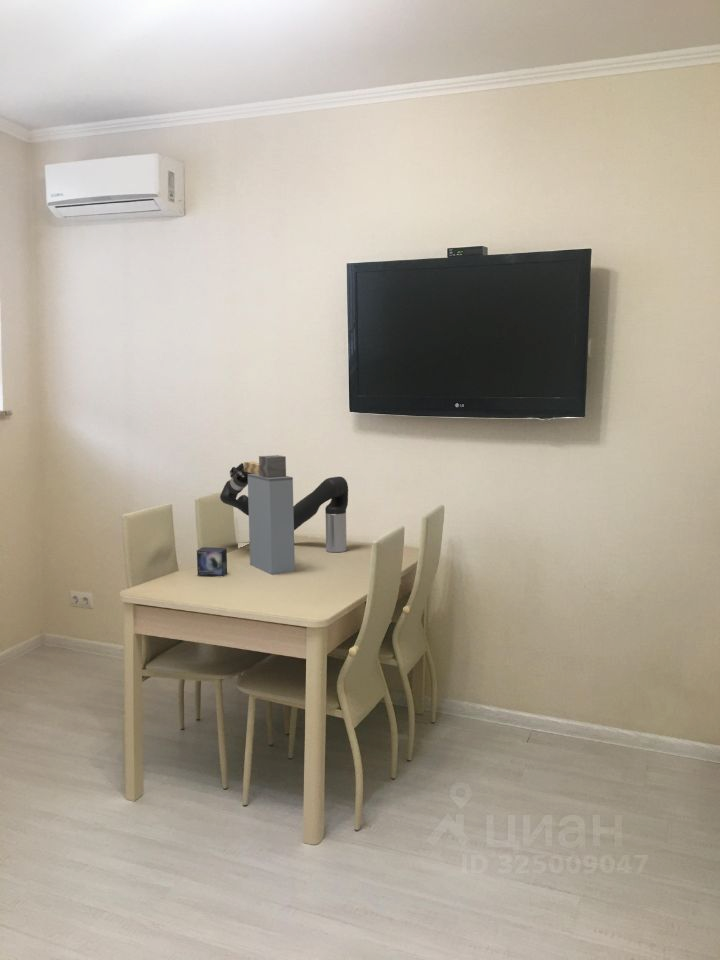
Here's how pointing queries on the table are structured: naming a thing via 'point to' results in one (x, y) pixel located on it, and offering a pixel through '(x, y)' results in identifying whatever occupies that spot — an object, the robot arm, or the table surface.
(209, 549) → the small box
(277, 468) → the peg
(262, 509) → the stand
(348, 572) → the table surface
